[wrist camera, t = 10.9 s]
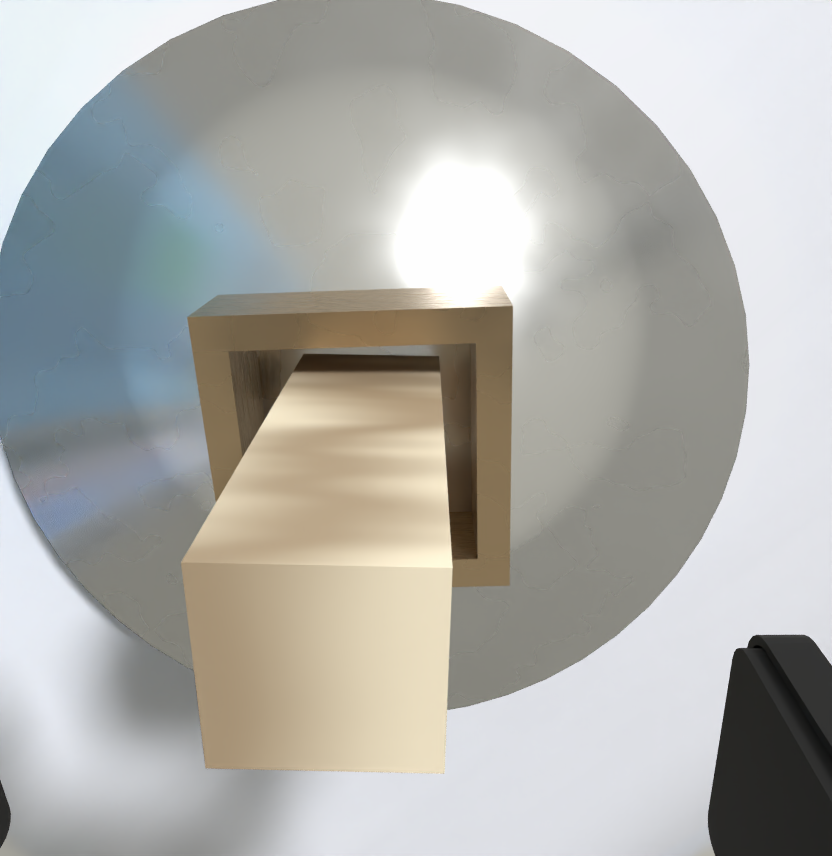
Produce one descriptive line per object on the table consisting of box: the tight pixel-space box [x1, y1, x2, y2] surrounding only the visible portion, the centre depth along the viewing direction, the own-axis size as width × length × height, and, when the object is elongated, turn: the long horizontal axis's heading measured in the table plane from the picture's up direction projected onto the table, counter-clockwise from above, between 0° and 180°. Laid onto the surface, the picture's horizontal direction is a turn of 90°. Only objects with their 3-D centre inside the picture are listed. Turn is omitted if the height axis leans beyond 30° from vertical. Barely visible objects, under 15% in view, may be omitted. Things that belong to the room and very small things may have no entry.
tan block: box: [181, 354, 453, 774], centre depth 15 cm, size 4×4×10 cm
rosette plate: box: [0, 0, 749, 710], centre depth 19 cm, size 20×20×4 cm
